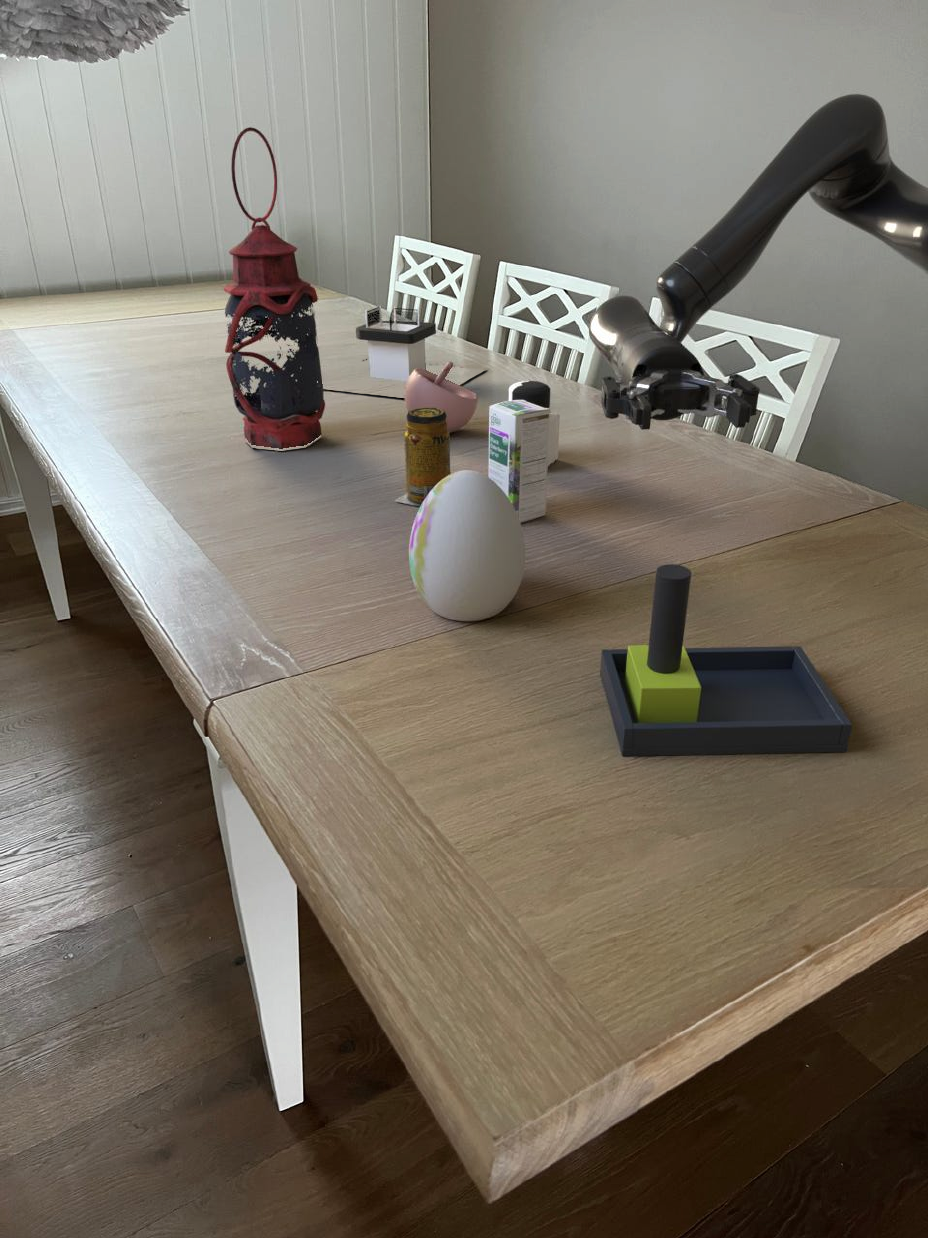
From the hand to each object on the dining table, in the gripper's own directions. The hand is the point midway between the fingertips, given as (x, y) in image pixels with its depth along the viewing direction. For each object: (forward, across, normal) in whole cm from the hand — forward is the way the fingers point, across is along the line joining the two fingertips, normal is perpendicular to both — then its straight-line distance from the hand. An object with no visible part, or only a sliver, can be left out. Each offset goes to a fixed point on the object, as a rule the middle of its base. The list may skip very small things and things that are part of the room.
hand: (695, 417), depth 82 cm
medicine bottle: (-53, -10, +22) cm, 59 cm away
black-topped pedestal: (-104, -32, +22) cm, 111 cm away
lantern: (-66, -49, +22) cm, 86 cm away
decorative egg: (-8, -20, +23) cm, 32 cm away
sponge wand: (+13, -4, +22) cm, 26 cm away
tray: (+13, +1, +23) cm, 26 cm away
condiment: (-39, -24, +22) cm, 51 cm away
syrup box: (-33, -13, +22) cm, 42 cm away
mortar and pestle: (-69, -23, +22) cm, 76 cm away
